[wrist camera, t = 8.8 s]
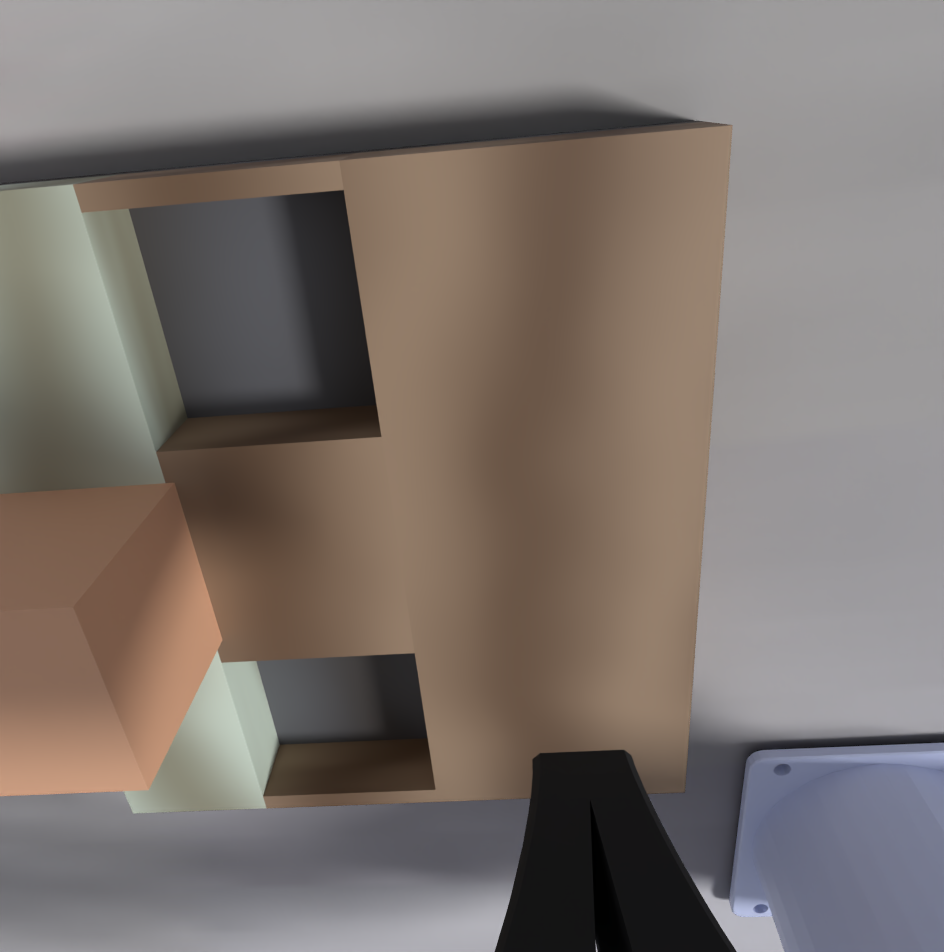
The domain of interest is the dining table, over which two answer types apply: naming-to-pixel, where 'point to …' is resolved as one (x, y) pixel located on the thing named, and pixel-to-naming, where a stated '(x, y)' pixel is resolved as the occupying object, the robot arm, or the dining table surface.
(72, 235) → the board
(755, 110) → the dining table surface
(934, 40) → the dining table surface
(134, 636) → the terracotta cube
